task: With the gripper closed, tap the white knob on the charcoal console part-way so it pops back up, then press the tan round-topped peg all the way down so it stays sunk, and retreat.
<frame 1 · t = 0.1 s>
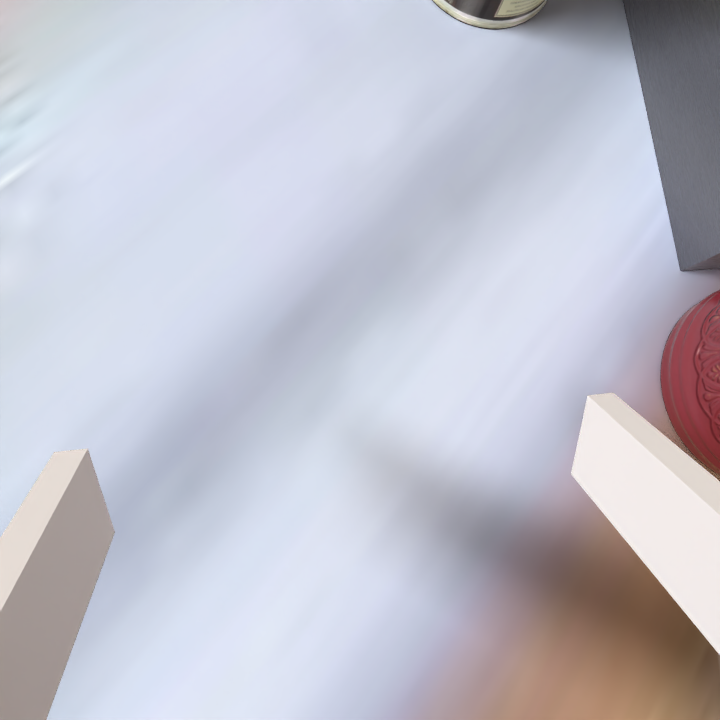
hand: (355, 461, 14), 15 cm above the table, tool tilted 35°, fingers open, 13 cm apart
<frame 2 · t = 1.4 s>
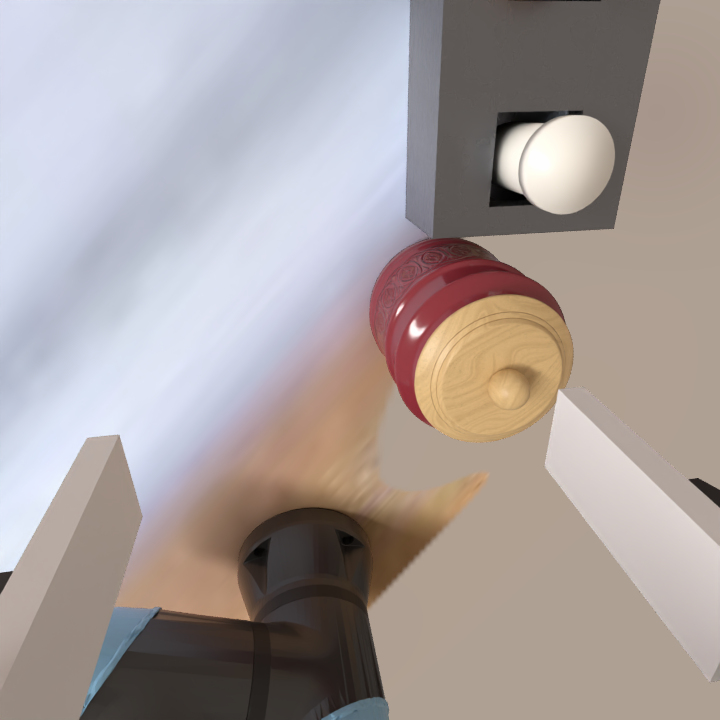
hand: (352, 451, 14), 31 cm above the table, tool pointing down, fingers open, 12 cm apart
canister: (434, 303, 47), on the table
white knob: (535, 160, 34), point 8 cm above the table, slide at 0.0 cm
console: (497, 67, 39), on the table
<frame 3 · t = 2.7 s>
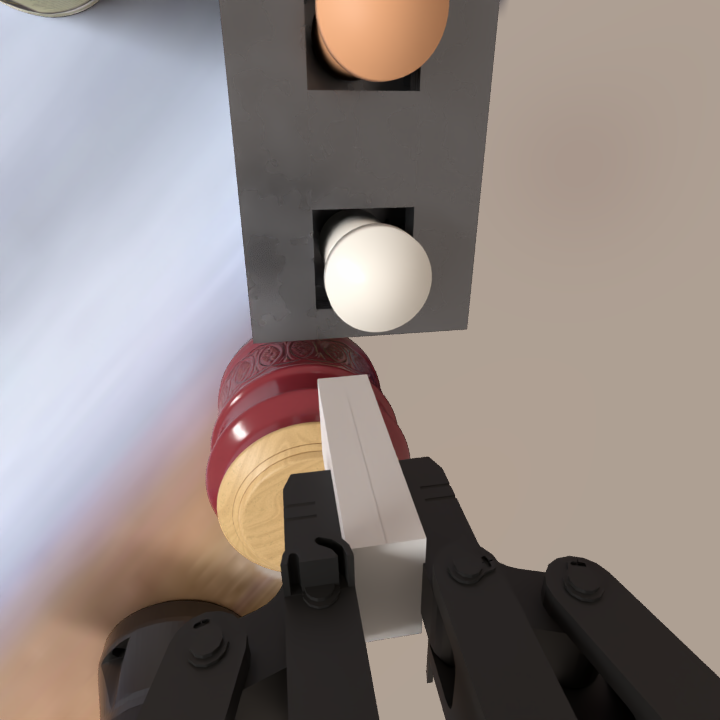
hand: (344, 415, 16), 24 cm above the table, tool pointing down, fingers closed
canister: (299, 389, 43), on the table
tan round-topped peg: (365, 22, 25), point 8 cm above the table, slide at 0.0 cm
white knob: (364, 260, 30), point 8 cm above the table, slide at 0.0 cm
console: (343, 145, 35), on the table
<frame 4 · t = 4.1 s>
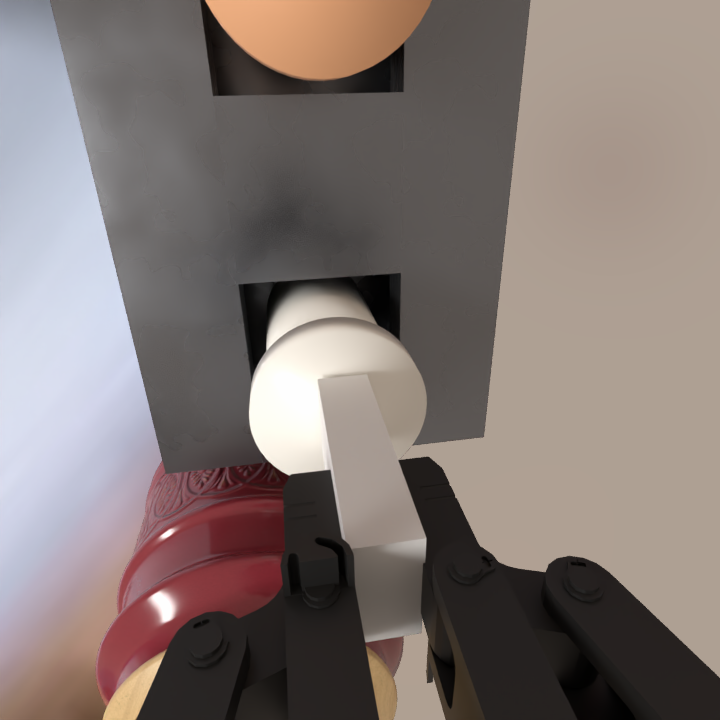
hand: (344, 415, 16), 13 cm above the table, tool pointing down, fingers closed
canister: (261, 485, 32), on the table
white knob: (325, 352, 20), point 8 cm above the table, slide at 0.1 cm, touching gripper
console: (302, 169, 24), on the table
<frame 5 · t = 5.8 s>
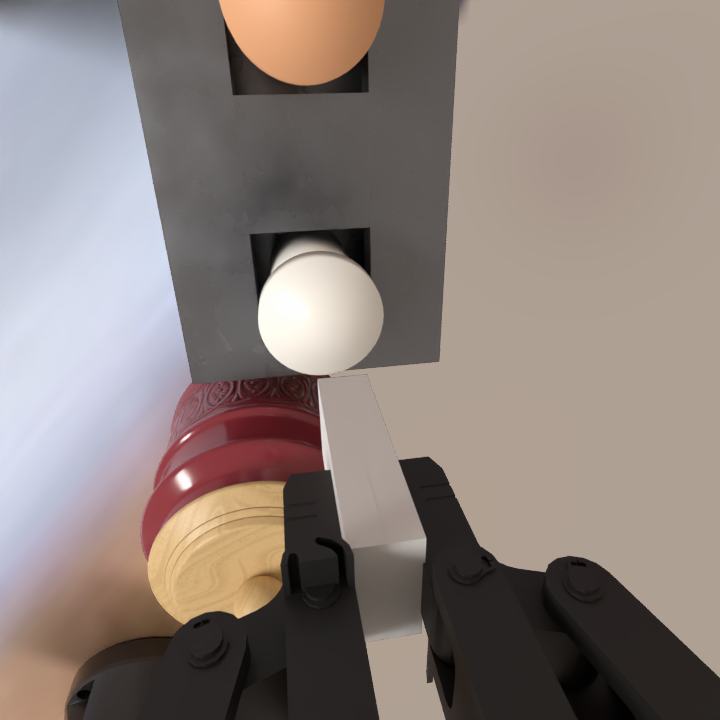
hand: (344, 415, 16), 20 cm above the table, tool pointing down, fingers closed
canister: (265, 418, 39), on the table
tan round-topped peg: (296, 11, 21), point 8 cm above the table, slide at 0.0 cm
white knob: (314, 287, 27), point 8 cm above the table, slide at 0.3 cm
console: (298, 152, 31), on the table
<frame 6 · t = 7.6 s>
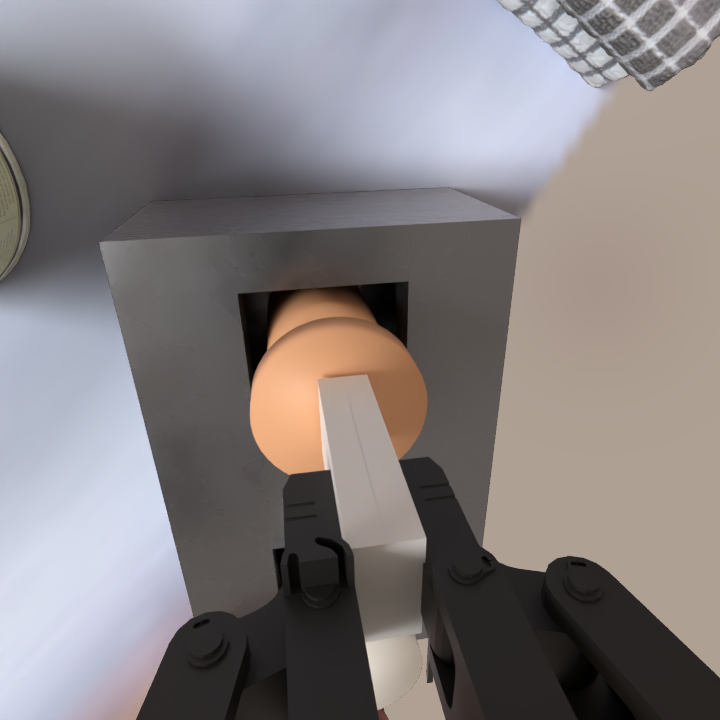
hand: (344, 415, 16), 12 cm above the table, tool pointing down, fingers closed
tan round-topped peg: (326, 351, 20), point 7 cm above the table, slide at 1.2 cm, touching gripper
white knob: (340, 582, 24), point 8 cm above the table, slide at 0.3 cm
console: (319, 395, 29), on the table
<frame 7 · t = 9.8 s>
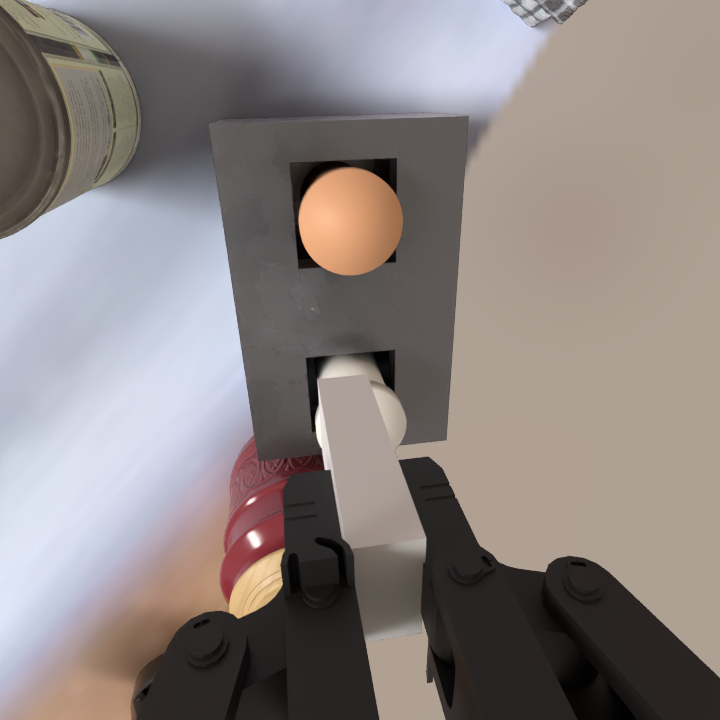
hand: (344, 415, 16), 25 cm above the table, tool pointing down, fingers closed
canister: (302, 469, 48), on the table
tan round-topped peg: (341, 208, 31), point 6 cm above the table, slide at 2.2 cm
white knob: (351, 390, 35), point 8 cm above the table, slide at 0.3 cm
coffee can: (57, 106, 32), on the table
console: (335, 273, 39), on the table
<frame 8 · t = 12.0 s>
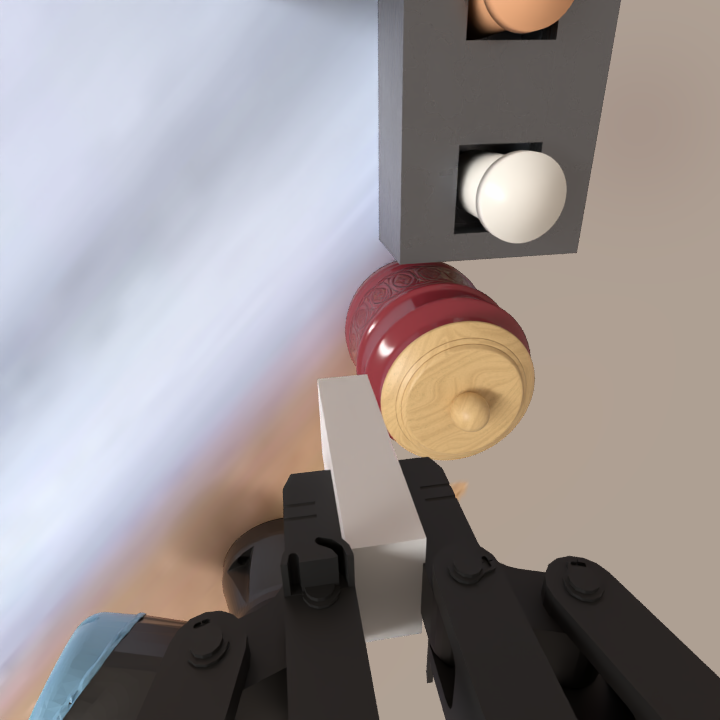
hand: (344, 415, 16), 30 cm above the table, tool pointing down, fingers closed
canister: (409, 320, 48), on the table
white knob: (496, 188, 36), point 8 cm above the table, slide at 0.3 cm
console: (464, 96, 40), on the table
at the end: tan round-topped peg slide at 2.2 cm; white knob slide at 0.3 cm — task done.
